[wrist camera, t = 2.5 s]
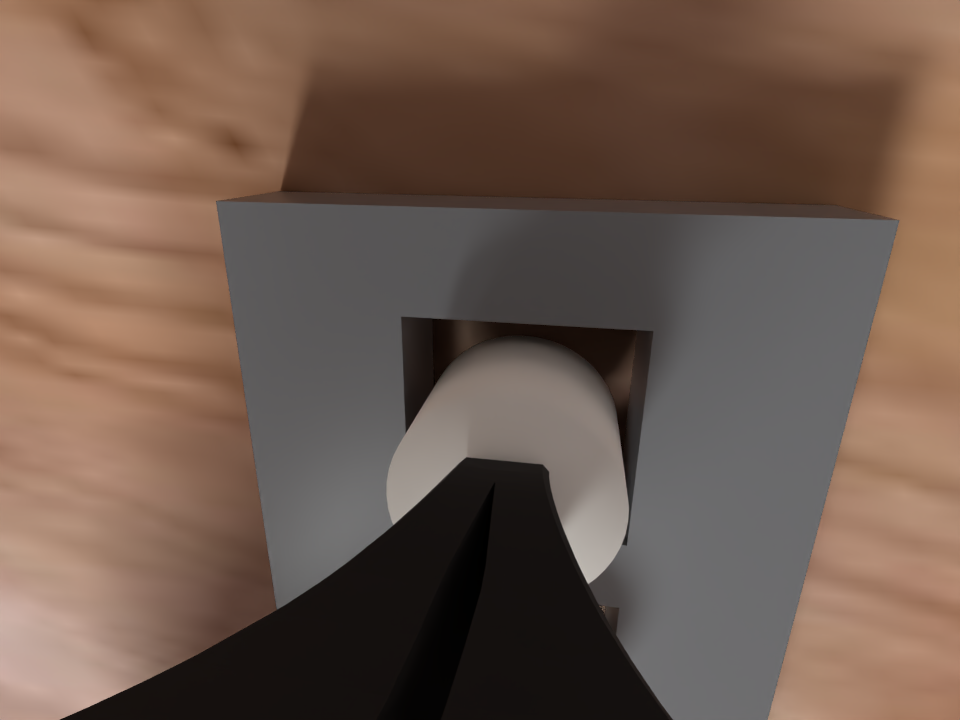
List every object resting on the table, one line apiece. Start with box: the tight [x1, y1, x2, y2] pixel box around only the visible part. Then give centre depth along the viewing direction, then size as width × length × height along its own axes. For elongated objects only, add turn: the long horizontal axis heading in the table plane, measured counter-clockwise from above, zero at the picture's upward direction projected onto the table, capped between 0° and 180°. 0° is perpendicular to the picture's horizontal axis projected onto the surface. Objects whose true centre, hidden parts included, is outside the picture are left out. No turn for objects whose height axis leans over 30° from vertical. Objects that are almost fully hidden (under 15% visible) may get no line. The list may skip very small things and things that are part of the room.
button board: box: [216, 191, 899, 720], centre depth 15 cm, size 22×12×2 cm, turn 0°
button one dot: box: [386, 336, 629, 584], centre depth 11 cm, size 4×4×3 cm
